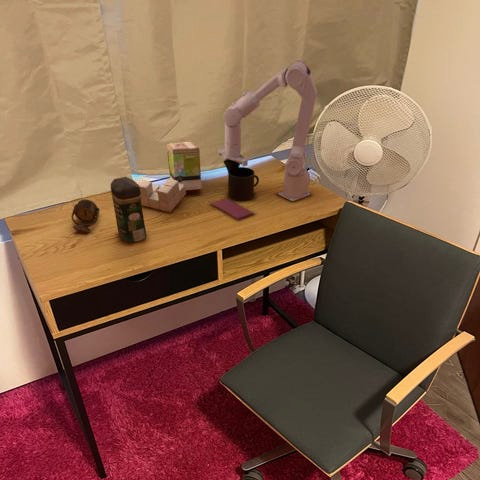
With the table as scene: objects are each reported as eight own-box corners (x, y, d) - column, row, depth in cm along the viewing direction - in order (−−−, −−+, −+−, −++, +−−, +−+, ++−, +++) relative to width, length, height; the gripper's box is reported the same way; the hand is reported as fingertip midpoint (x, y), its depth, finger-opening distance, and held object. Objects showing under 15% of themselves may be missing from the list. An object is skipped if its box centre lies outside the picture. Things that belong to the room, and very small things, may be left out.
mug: (264, 197, 175) (265, 173, 170) (234, 203, 171) (235, 179, 165) (252, 187, 182) (253, 164, 176) (223, 192, 178) (223, 169, 172)
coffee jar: (115, 233, 153) (105, 177, 141) (138, 227, 156) (131, 172, 144) (125, 246, 146) (116, 189, 135) (149, 240, 150) (143, 184, 138)
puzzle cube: (186, 194, 172) (183, 174, 166) (170, 212, 165) (167, 193, 159) (157, 186, 175) (153, 167, 169) (140, 204, 168) (136, 185, 162)
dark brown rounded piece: (109, 203, 157) (82, 192, 158) (86, 216, 147) (58, 205, 148) (107, 222, 162) (81, 212, 163) (85, 237, 152) (58, 225, 153)
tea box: (202, 189, 174) (199, 146, 167) (175, 191, 172) (171, 149, 165) (195, 180, 187) (192, 140, 179) (169, 182, 185) (165, 142, 177)
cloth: (226, 199, 173) (226, 197, 173) (253, 214, 165) (253, 212, 164) (211, 205, 170) (211, 203, 169) (238, 220, 161) (238, 218, 161)
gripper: (211, 139, 171) (212, 175, 180) (237, 150, 163) (236, 188, 172) (226, 135, 175) (226, 171, 184) (252, 146, 167) (251, 183, 175)
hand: (232, 179), depth 178 cm, fingers closed
